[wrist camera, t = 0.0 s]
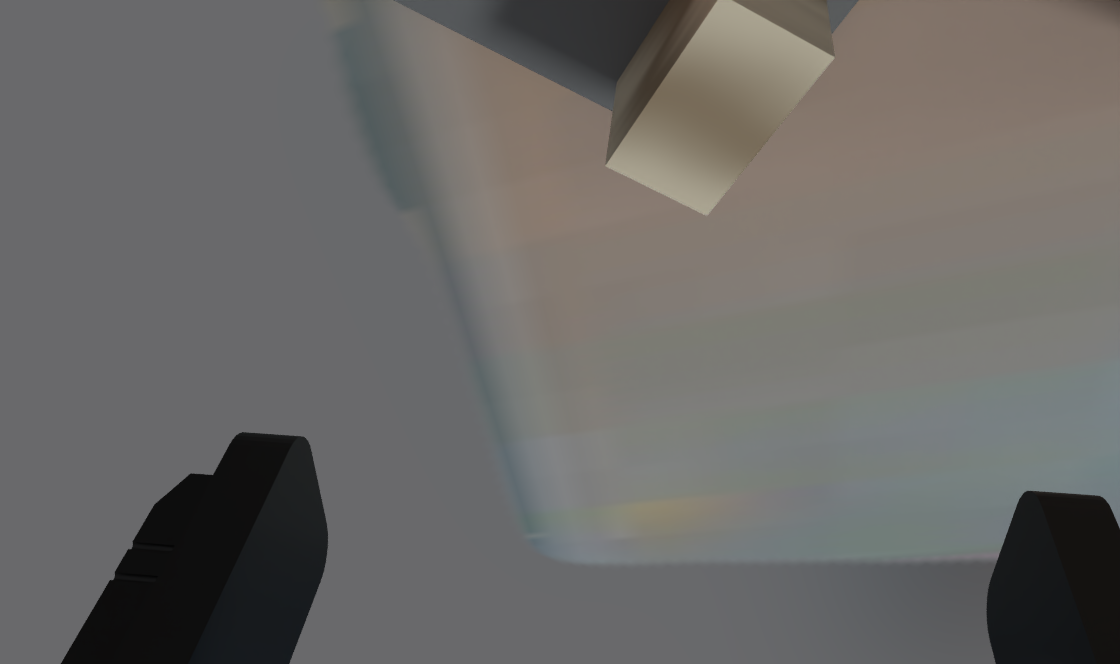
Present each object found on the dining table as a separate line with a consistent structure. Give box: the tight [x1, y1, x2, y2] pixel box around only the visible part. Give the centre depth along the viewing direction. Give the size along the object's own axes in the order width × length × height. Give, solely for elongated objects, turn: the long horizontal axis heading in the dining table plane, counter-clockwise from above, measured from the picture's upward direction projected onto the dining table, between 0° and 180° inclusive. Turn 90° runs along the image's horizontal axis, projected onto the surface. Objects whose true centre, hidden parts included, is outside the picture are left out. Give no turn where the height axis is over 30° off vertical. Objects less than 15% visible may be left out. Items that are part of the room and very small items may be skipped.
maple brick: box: [605, 0, 835, 216], centre depth 30 cm, size 6×3×4 cm, turn 153°
